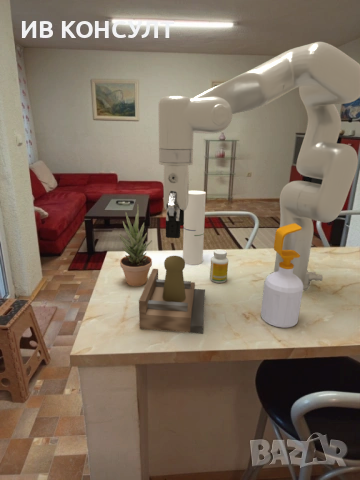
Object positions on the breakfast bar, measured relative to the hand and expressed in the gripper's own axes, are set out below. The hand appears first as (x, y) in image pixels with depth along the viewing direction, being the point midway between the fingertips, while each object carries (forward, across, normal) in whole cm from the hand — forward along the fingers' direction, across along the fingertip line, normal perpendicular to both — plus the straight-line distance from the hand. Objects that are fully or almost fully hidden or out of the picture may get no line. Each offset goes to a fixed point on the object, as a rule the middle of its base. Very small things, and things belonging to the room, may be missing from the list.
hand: (175, 230), depth 76 cm
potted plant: (+22, +15, +13) cm, 30 cm away
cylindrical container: (+22, +34, -3) cm, 41 cm away
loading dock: (+22, 0, 0) cm, 22 cm away
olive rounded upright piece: (+18, 0, 0) cm, 18 cm away
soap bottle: (+22, 0, -27) cm, 35 cm away
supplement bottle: (+22, +20, -12) cm, 32 cm away
